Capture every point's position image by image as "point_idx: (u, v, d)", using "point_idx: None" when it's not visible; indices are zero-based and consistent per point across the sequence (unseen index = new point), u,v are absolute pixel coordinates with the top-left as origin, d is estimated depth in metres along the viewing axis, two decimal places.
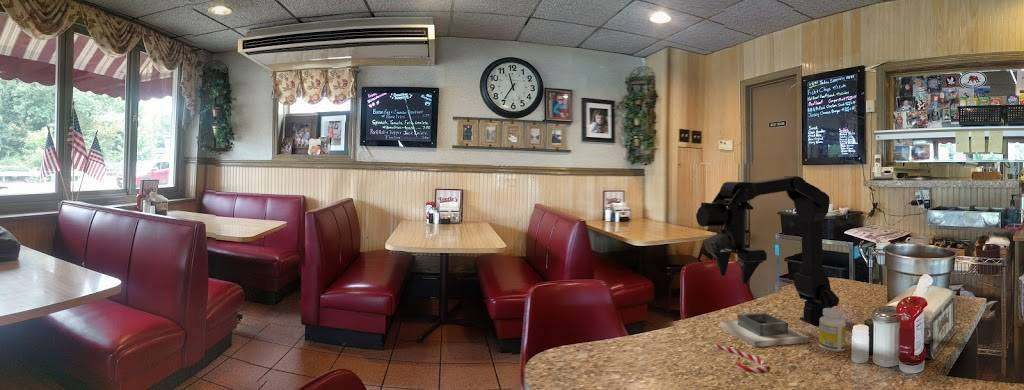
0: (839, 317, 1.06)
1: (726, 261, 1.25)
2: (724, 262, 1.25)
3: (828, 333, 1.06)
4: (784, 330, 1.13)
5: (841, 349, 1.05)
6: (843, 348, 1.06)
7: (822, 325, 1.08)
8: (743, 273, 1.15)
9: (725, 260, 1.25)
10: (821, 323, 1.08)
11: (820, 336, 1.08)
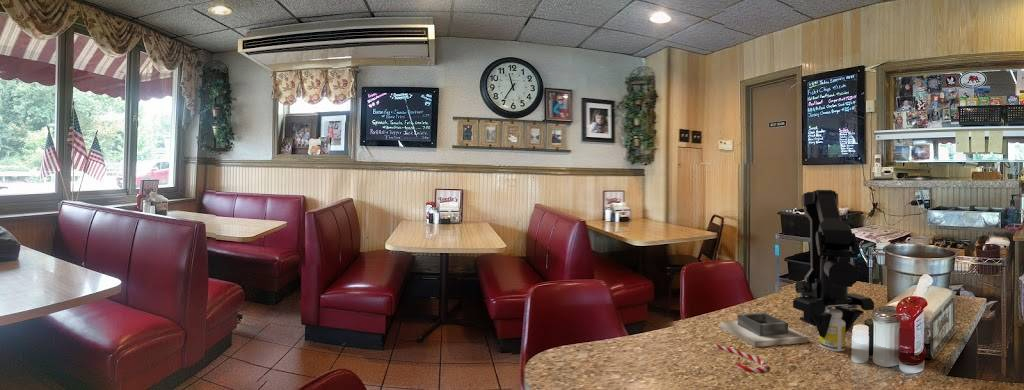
0: (839, 317, 1.06)
1: (847, 321, 1.07)
2: None
3: (828, 333, 1.06)
4: (784, 330, 1.13)
5: (841, 349, 1.05)
6: (843, 348, 1.06)
7: None
8: None
9: (846, 319, 1.07)
10: None
11: (820, 336, 1.08)
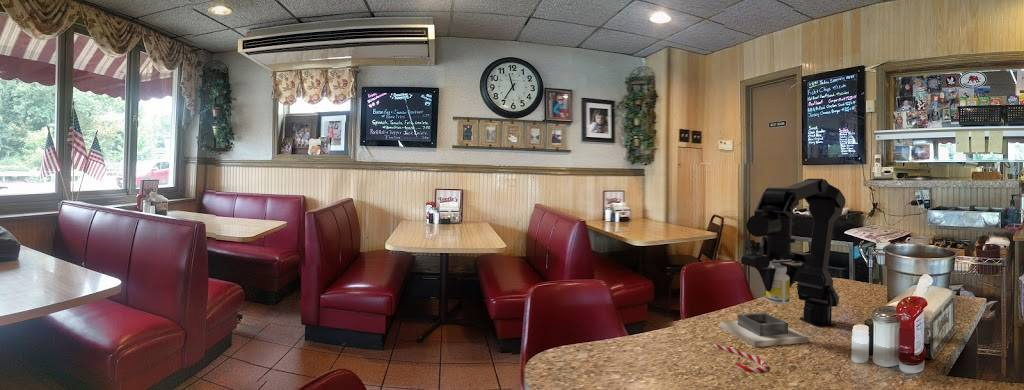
0: (783, 272, 1.12)
1: (791, 276, 1.13)
2: None
3: (774, 287, 1.12)
4: (784, 330, 1.13)
5: (785, 302, 1.12)
6: (787, 301, 1.12)
7: None
8: None
9: (790, 274, 1.14)
10: None
11: (767, 291, 1.15)
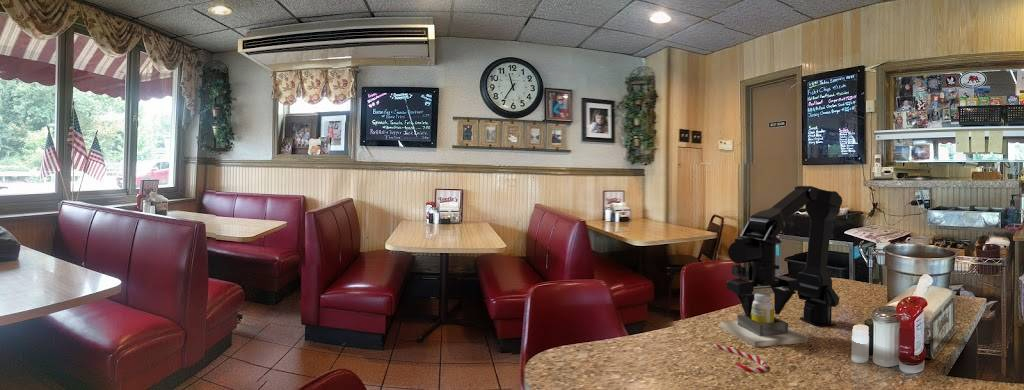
0: (768, 301, 1.15)
1: (782, 301, 1.16)
2: (779, 301, 1.17)
3: (758, 315, 1.15)
4: (784, 330, 1.13)
5: None
6: None
7: (753, 309, 1.16)
8: None
9: (780, 299, 1.17)
10: (752, 306, 1.17)
11: (752, 318, 1.17)
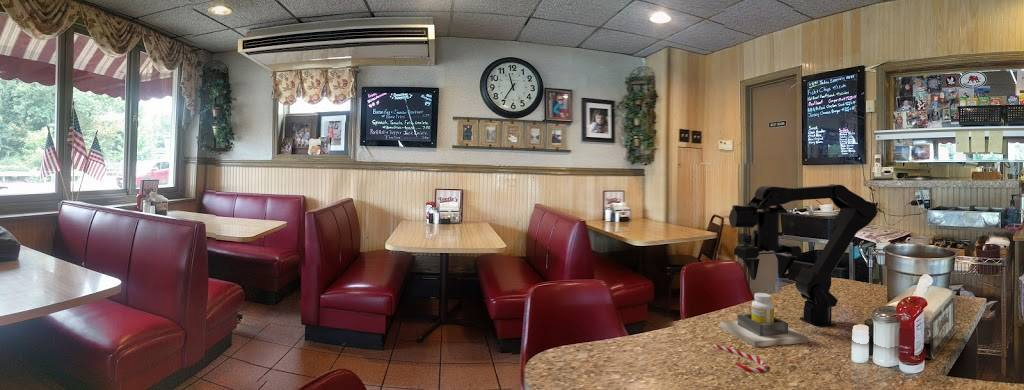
0: (768, 301, 1.15)
1: (785, 265, 1.26)
2: (782, 265, 1.27)
3: (758, 315, 1.15)
4: (784, 330, 1.13)
5: None
6: None
7: (753, 309, 1.16)
8: None
9: (783, 264, 1.26)
10: (752, 306, 1.17)
11: (752, 319, 1.17)
